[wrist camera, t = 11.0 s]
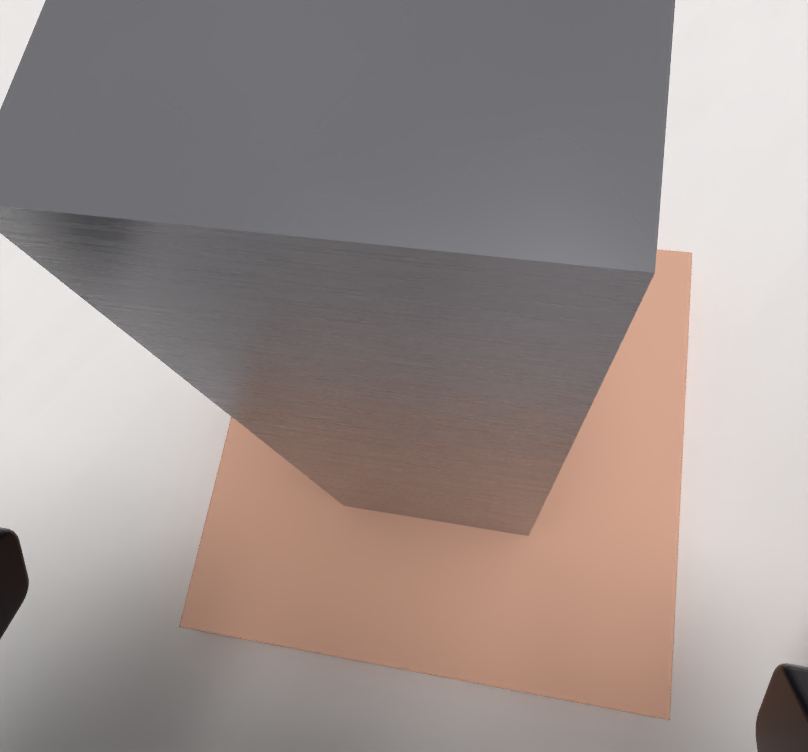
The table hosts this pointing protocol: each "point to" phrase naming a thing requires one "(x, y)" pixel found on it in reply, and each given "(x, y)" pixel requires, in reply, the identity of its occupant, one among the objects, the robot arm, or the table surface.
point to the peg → (357, 220)
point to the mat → (480, 551)
